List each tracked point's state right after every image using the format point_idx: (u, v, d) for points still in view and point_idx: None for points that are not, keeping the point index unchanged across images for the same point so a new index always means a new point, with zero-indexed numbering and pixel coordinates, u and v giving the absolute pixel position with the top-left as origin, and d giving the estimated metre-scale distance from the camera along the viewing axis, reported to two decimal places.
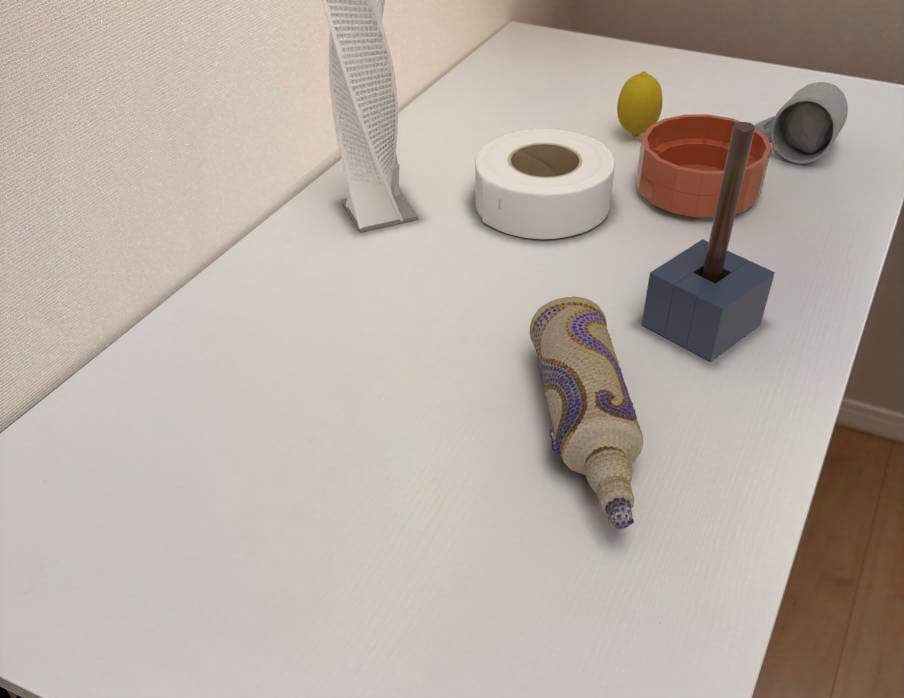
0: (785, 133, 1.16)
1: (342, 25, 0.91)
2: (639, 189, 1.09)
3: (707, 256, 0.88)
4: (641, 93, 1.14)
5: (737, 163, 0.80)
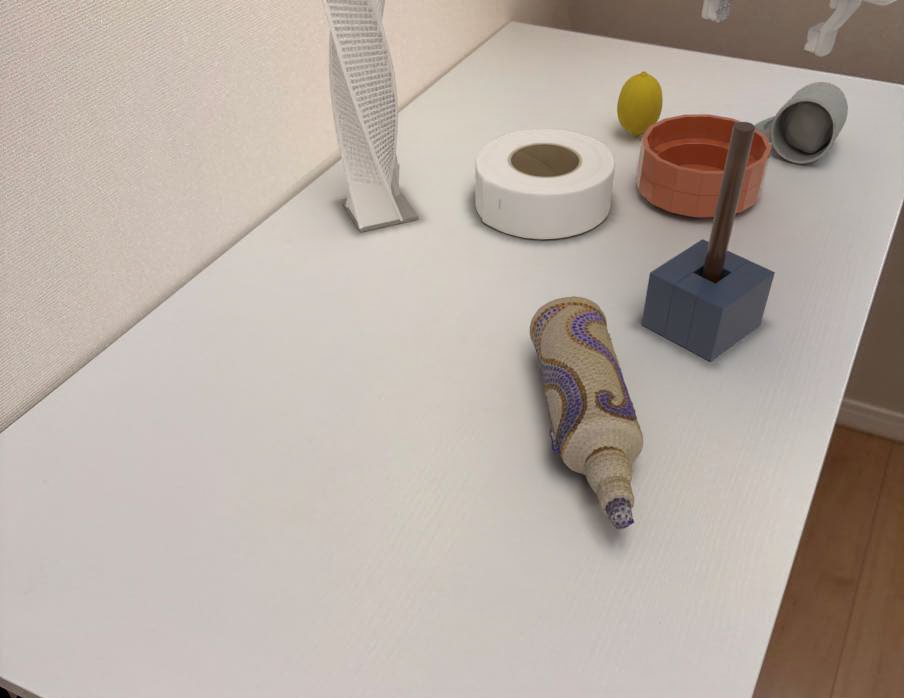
0: (785, 133, 1.16)
1: (342, 25, 0.91)
2: (639, 189, 1.09)
3: (707, 256, 0.88)
4: (641, 93, 1.14)
5: (737, 163, 0.80)
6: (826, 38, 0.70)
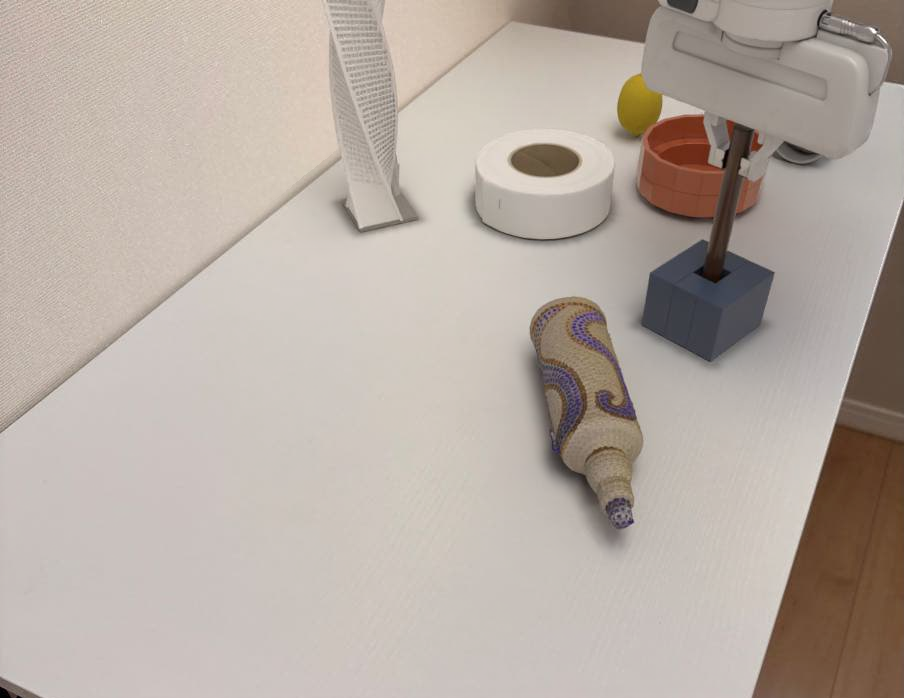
0: None
1: (342, 25, 0.91)
2: (639, 189, 1.09)
3: (707, 256, 0.88)
4: (641, 93, 1.14)
5: (738, 163, 0.80)
6: (756, 167, 0.79)
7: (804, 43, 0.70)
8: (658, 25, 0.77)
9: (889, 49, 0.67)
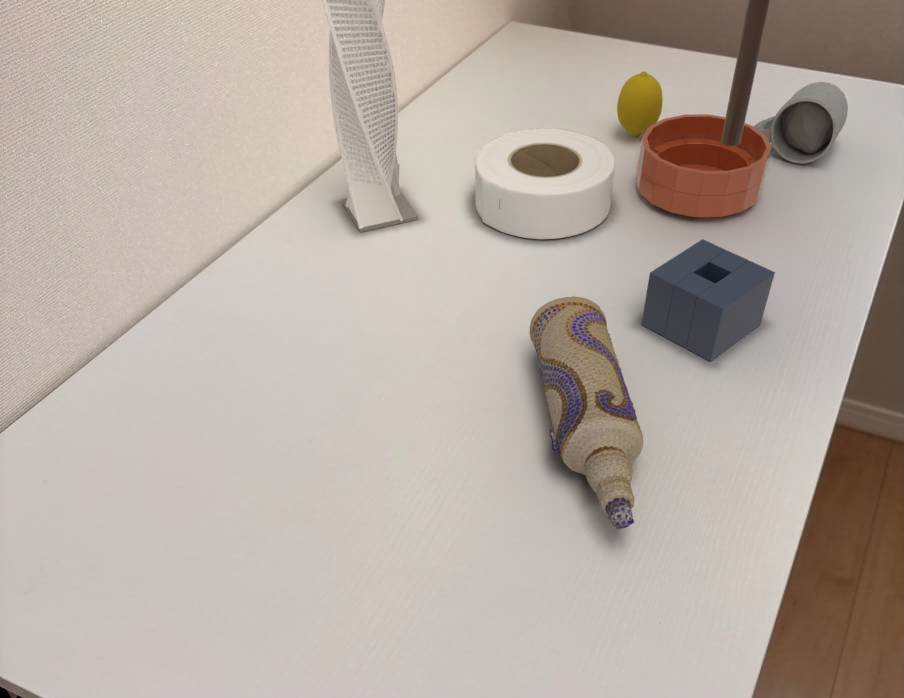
0: (785, 133, 1.16)
1: (342, 25, 0.91)
2: (639, 189, 1.09)
3: (738, 55, 0.82)
4: (641, 93, 1.14)
5: None
6: None
7: None
8: None
9: None
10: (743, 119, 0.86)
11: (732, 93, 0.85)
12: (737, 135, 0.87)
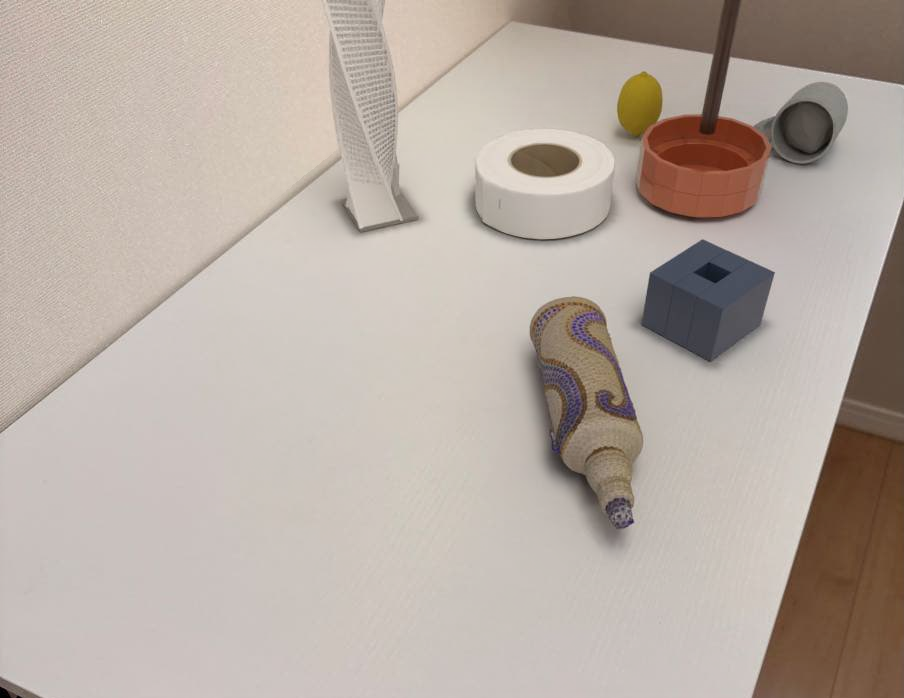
0: (785, 133, 1.16)
1: (342, 25, 0.91)
2: (639, 189, 1.09)
3: (713, 59, 0.99)
4: (641, 93, 1.14)
5: None
6: None
7: None
8: None
9: None
10: (717, 112, 1.03)
11: (708, 90, 1.02)
12: (712, 125, 1.04)
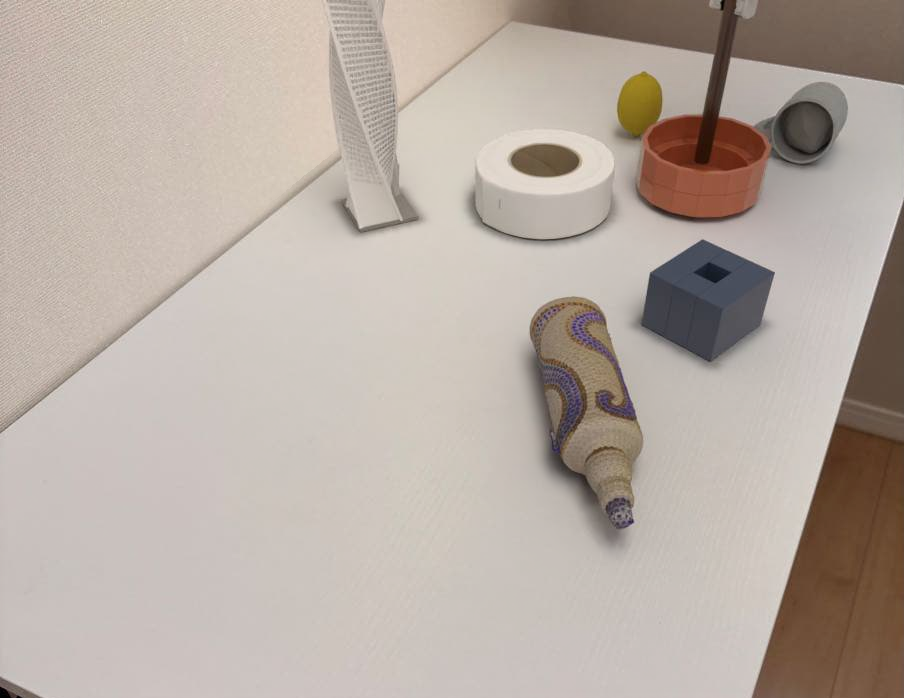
0: (785, 133, 1.16)
1: (342, 25, 0.91)
2: (639, 189, 1.09)
3: (707, 93, 1.04)
4: (641, 93, 1.14)
5: (733, 4, 0.97)
6: (749, 5, 0.96)
7: None
8: None
9: None
10: (711, 143, 1.08)
11: (702, 123, 1.06)
12: (706, 156, 1.09)
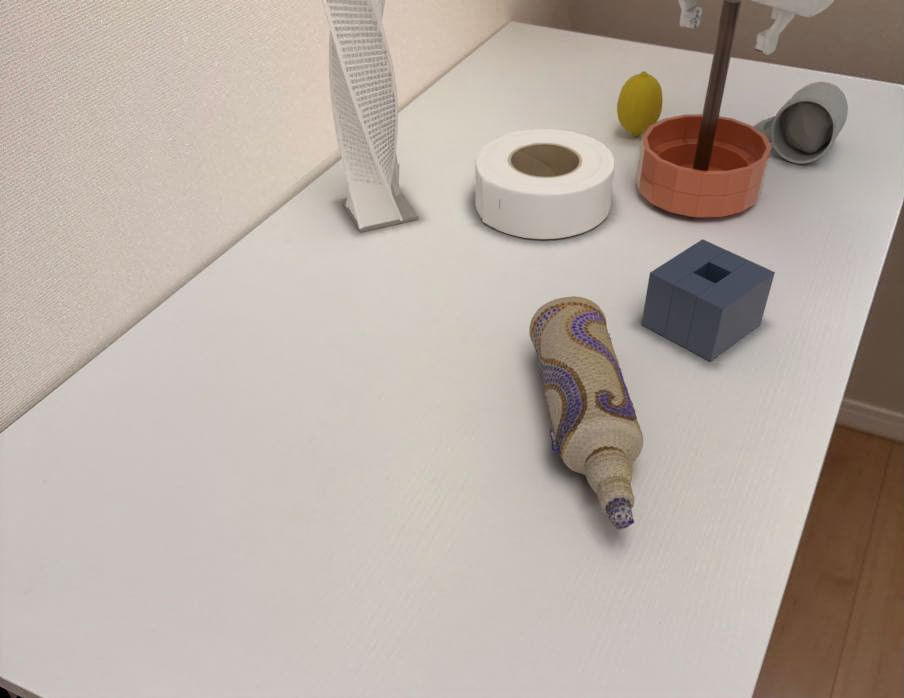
0: (785, 133, 1.16)
1: (342, 25, 0.91)
2: (639, 189, 1.09)
3: (702, 120, 1.04)
4: (641, 93, 1.14)
5: (727, 33, 0.97)
6: (770, 41, 0.94)
7: None
8: None
9: None
10: (706, 169, 1.08)
11: (697, 149, 1.07)
12: None
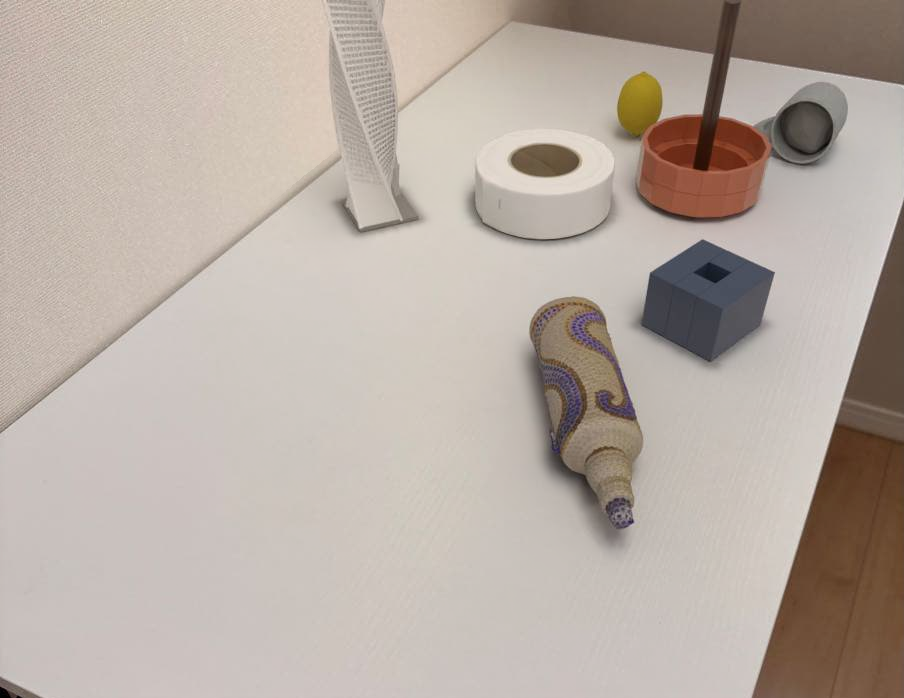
0: (785, 133, 1.16)
1: (342, 25, 0.91)
2: (639, 189, 1.09)
3: (702, 120, 1.04)
4: (641, 93, 1.14)
5: (727, 33, 0.97)
6: None
7: None
8: None
9: None
10: (706, 169, 1.08)
11: (697, 149, 1.07)
12: None
